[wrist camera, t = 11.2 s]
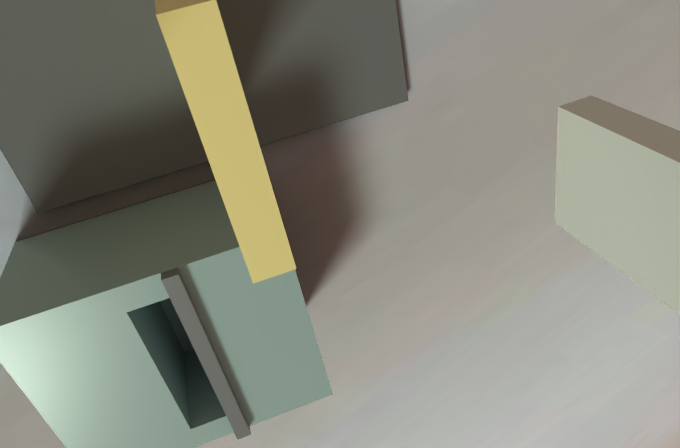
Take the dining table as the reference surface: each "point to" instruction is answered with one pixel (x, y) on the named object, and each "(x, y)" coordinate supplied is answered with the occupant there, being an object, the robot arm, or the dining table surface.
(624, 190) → the robot arm
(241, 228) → the pale yellow plank
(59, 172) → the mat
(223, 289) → the dispenser
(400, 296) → the dining table surface
